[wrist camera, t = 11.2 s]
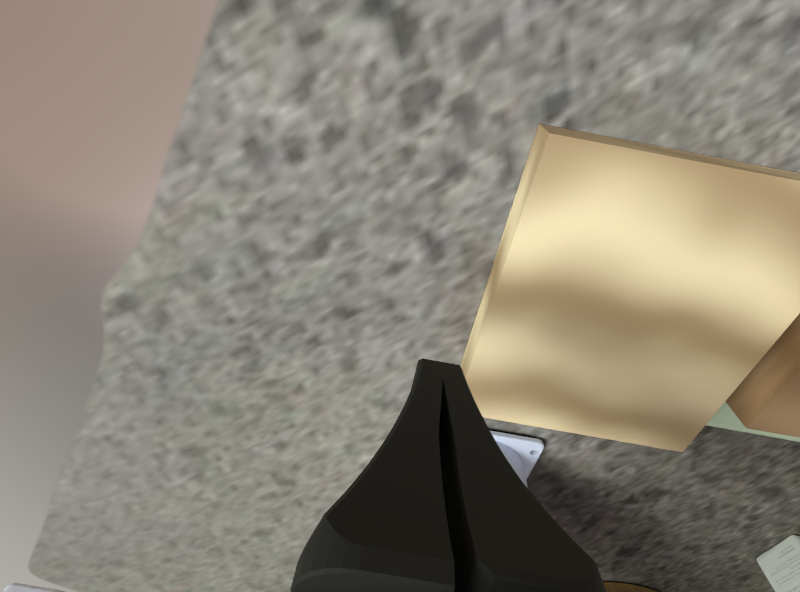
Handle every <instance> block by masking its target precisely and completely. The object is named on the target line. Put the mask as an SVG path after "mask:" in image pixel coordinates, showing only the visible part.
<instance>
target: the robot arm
mask: <svg viewBox="0 0 800 592" xmlns="http://www.w3.org/2000/svg"><path fill="white" fill-rule="evenodd" d="M543 449H544V445H543V442H542V441H541V440H540V439H536V438H530V437H524V436H518V435H513V434H507V433H501V432H496V431H490V430H489V428H488V426H487V425H486V423H485V421H484V419H483V417H482V415H481V413H480V411H479V409H478V407H477V404H476V402H475V400H474V398H473V396H472V393H471V391H470V389H469V386H468V384H467V381H466V379H465V376H464V373H463V371H462V368H461V367H460V365H455V364H450V363H444V362H439V361H433V360H427V359H421V360H419V361H418V364H417V368H416V372H415V376H414V380H413V384H412V388H411V392H410V394H409V397H408V399H407V401H406V404H405V406H404V408H403V410H402V411H401V413H400V415H399V417H398V419H397V421H396V423H395V425H394V426H393V428H392V430H391V431H390V433H389V435H388V436H387V438H386V439H385V441H384V442H383V444H382V446H381V447H380V448H379V450H378V451H377V453H376V454H375V456H374V457H373V458H372V460H371V461H370V463H369V464H368V465H367V467H366V468H365V469H364V470H363V472H362V473H361V474H360V475H359V476H358V478H357V479H356V480H355V481H354V482H353V484H352V485H351V486H350V487H349V488H348V490H347V491H346V492H345V493H344V494H343V495H342V496H341V497H340V498H339V499H338V500H337V501H336V502H335V504H334V505H333V506H332V507H331V508H330V509H329V510H328V511H327V512H326V513H325V514H324V516H323V517H322V519H321V521H320V522H319V524H318V526H317V527H316V529H315V530H314V532H313V534H312V535H311V537H310V539H309V540H308V542H307V544H306V546H305V548H304V550H303V552H302V554H301V556H300V558H299V561H298V564H297V567H296V571H295V574H294V578H293V582H292V586H291V592H606V589H605V586H604V583H603V580H602V578H601V575H600V573H599V571H598V568H597V566H596V563H595V561H594V560H593V559H592V558H591V557H590V556H589V555H588V554H587V553H586V552H585V551H583V550H582V549H581V548H580V547H579V546H578V545H577V544H576V543H575V542H574V541H573V540H572V539H571V538H570V537H569V536H568V535H567V534H566V533H565V532H564V531H563V530H562V528H561V527H560V526H559V525H558V524H557V523H556V522H555V521H554V520H553V518H552V517H551V516H550V515H549V514H548V513H547V512H546V511H545V509H544V508H543V507H542V506H541V504H540V503H539V502H538V501H537V500H536V498H535V497H534V496H533V495H532V493H531V492H530V491H529V490H528V486H527V481H526V480H527V478H528V476H529V474H530V472H531V471H532V469H533V467H534V465H535V463H536V462H537V460H538V458H539V456H540V454H541V452H542V451H543ZM3 592H64V591H61V590H56V589H50V588H43V587H38V586H31V585H25V584H19V583H12V584H10V585H8V586H7V587H6V588H5V590H4V591H3Z"/></svg>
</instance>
